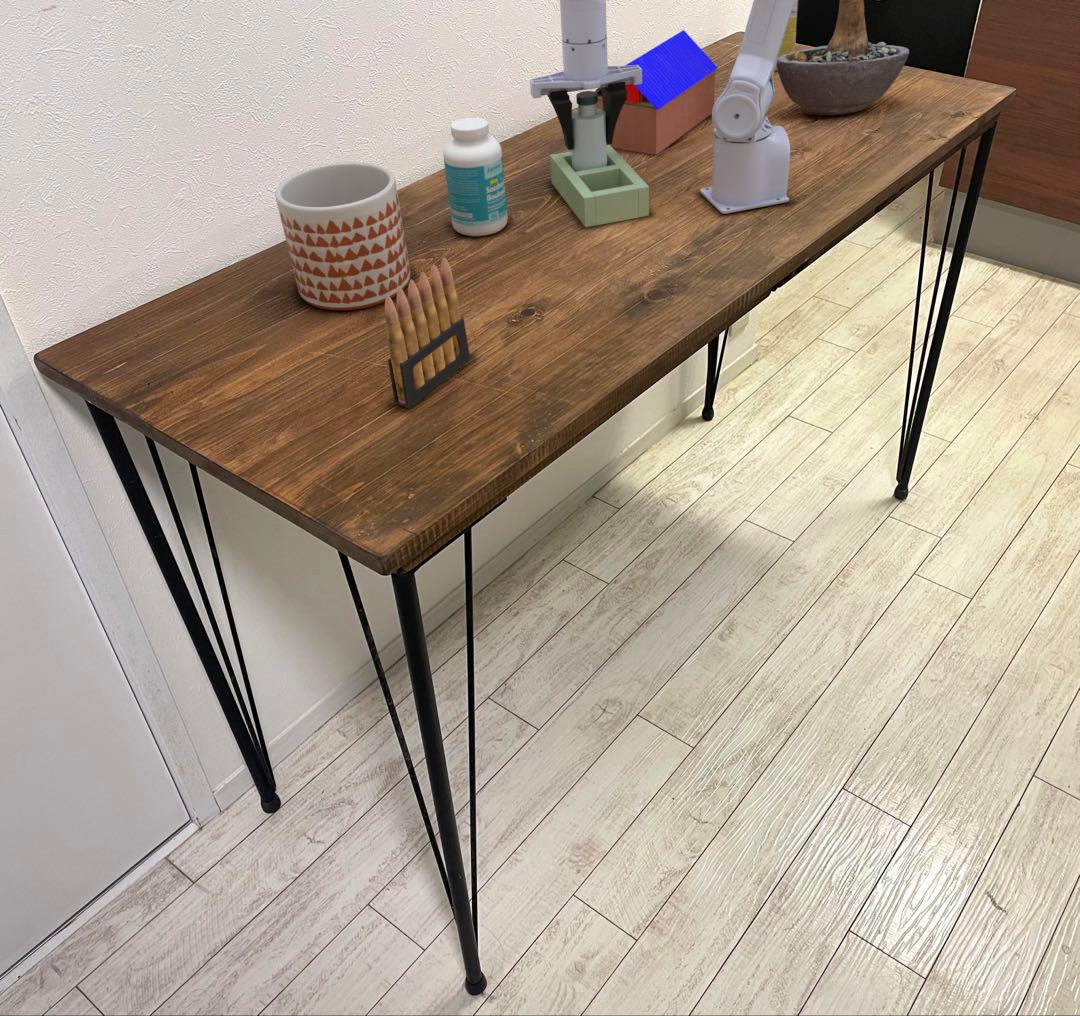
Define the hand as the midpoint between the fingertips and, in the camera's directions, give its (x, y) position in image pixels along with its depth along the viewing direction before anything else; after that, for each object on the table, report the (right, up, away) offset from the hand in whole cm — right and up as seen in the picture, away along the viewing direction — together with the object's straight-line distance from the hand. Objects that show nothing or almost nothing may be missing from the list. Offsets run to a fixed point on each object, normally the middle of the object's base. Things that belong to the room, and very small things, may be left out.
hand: (588, 144), depth 138 cm
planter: (+39, +12, +20) cm, 46 cm away
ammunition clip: (-18, -36, -31) cm, 51 cm away
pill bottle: (-14, -12, -3) cm, 19 cm away
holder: (+1, -7, +1) cm, 7 cm away
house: (+11, +10, +20) cm, 25 cm away
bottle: (0, -3, +2) cm, 3 cm away
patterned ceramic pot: (-29, -22, -13) cm, 39 cm away
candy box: (+34, +28, +40) cm, 60 cm away
